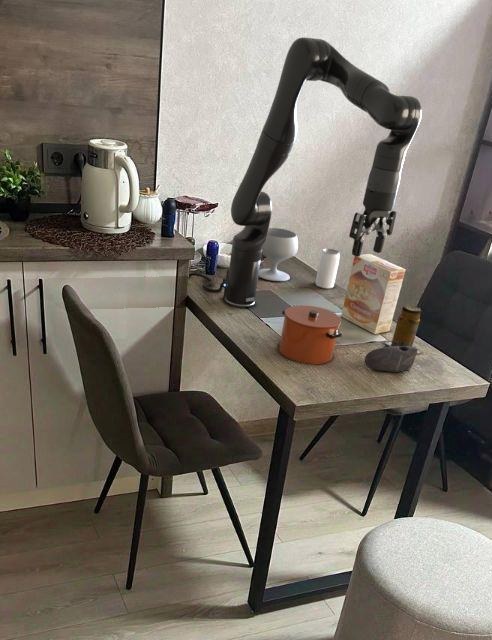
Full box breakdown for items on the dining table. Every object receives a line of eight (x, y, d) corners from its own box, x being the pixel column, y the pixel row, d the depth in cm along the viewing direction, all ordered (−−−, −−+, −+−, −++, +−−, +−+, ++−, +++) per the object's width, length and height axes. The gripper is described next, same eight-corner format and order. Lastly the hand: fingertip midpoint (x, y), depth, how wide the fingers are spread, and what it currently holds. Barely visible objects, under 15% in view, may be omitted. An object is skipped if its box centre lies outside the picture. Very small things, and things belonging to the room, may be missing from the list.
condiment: (403, 341, 217) (414, 302, 210) (421, 353, 211) (433, 313, 204) (384, 343, 214) (394, 304, 207) (401, 355, 208) (413, 315, 201)
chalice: (264, 283, 246) (271, 239, 237) (246, 270, 256) (252, 226, 248) (299, 282, 251) (307, 239, 243) (280, 269, 261) (287, 226, 253)
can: (334, 289, 249) (341, 255, 242) (316, 287, 249) (322, 252, 242) (332, 283, 254) (339, 249, 248) (314, 281, 254) (320, 247, 247)
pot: (262, 344, 202) (269, 303, 196) (300, 335, 211) (308, 296, 205) (311, 371, 191) (319, 329, 184) (349, 360, 200) (358, 319, 193)
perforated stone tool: (364, 373, 194) (371, 349, 190) (359, 364, 198) (364, 341, 194) (417, 375, 197) (424, 352, 193) (410, 367, 201) (417, 344, 197)
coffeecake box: (340, 316, 228) (353, 254, 217) (355, 313, 232) (370, 252, 221) (374, 334, 218) (390, 271, 208) (390, 331, 222) (406, 268, 211)
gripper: (388, 182, 182) (372, 246, 191) (351, 185, 174) (337, 252, 183) (411, 190, 178) (394, 255, 187) (375, 193, 170) (359, 261, 179)
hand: (366, 253), depth 185 cm, fingers open, 8 cm apart
